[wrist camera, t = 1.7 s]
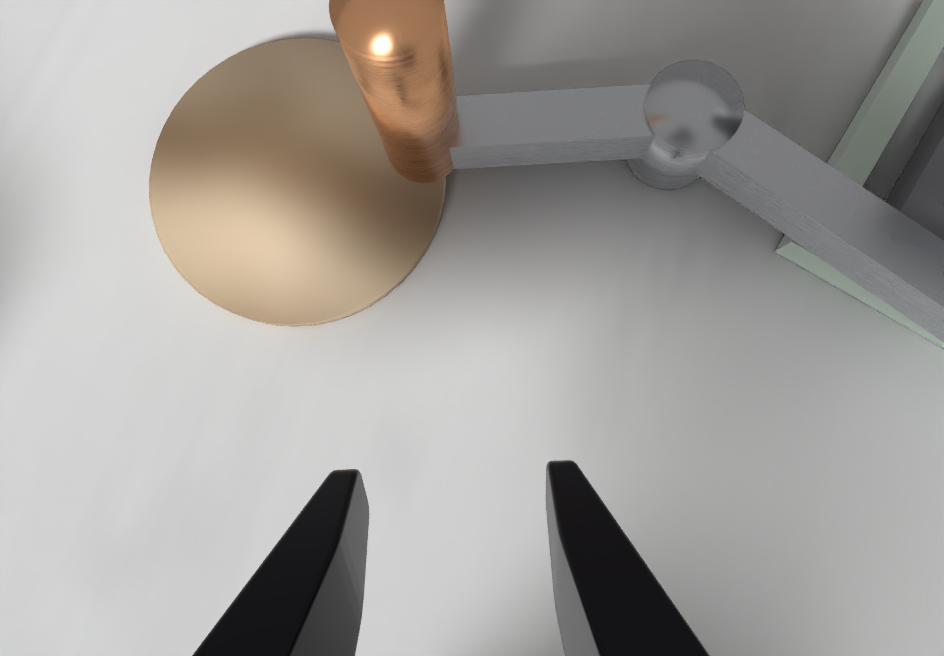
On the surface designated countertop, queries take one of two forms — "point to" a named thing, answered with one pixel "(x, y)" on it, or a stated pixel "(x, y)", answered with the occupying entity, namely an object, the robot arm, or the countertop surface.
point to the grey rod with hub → (633, 146)
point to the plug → (924, 180)
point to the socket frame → (880, 139)
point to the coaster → (286, 189)
